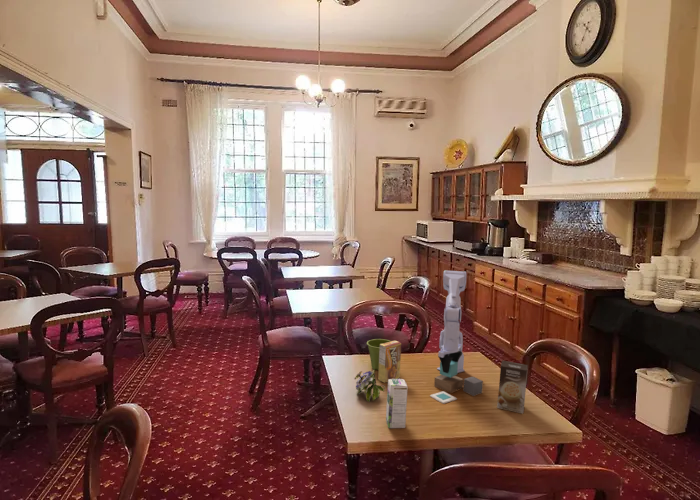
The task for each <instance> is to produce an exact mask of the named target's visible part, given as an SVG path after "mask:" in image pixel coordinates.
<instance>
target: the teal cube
mask: <svg viewBox="0 0 700 500" xmlns="http://www.w3.org/2000/svg"><path fill="white" fill-rule="evenodd" d="M439 367H440V370H439V375H444V376H447V377H450V378H451V377H453V376H457V375H458V373H457V369H458V362H456V361H451V363H450V368H449V372H448V373H445V372H443V369H442V364H441V361H439Z"/></svg>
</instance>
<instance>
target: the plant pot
mask: <svg viewBox="0 0 700 500" xmlns="http://www.w3.org/2000/svg"><path fill="white" fill-rule="evenodd" d="M391 341H392V340H389V339H383V338H374V339H370V340H367V342H366V345H367V347H368V352H369V358H370V366H371V368H372V370H376V371H379V352H380V344H383V343H387V342H391Z"/></svg>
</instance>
